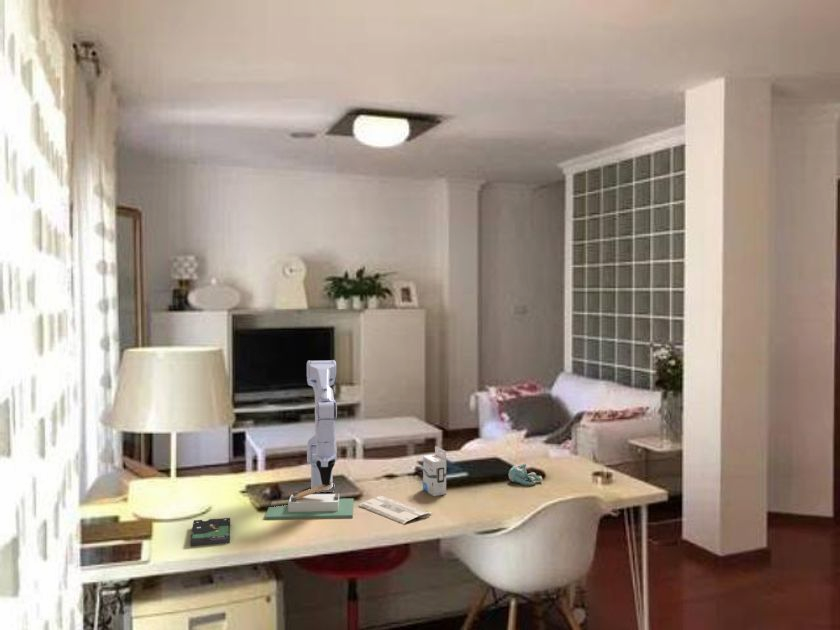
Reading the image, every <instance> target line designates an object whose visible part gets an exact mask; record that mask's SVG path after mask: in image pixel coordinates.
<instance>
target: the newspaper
mask: <svg viewBox="0 0 840 630" xmlns="http://www.w3.org/2000/svg"><path fill="white" fill-rule="evenodd" d="M358 507H359V508H362V509H364V510H367V511H369V512H371V513H374V514H377V515H379V516H381V517H384V518H387V519H389V520H391V521H394V522H397V523H398V524H401V525H405V524H406V523H407V522H409V521H411V520H413V519H415V518H420V519H426V518H429V517H430V515H431V514H432V512H430V511H427V510H424V509H422V508H418V507H415V506H411V505H409V504H406V503H404V502H401V501H397V500H395V499H392V498H388V497H386V496H383V495H378V496H376V497H373V498H370V499H368V500H366V501H363V502H360V503H359V504H358Z"/></svg>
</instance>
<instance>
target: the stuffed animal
mask: <svg viewBox="0 0 840 630" xmlns="http://www.w3.org/2000/svg"><path fill="white" fill-rule="evenodd" d="M526 467H527V464H526V463H522V464H521V465H513V466H512V467H511V468H510V469H509V470H508V478H509V480H510V481H511V482H514V483H515V484H521V485H522V486H533V485H535V484H536V481H537V482H542V481H543V477H542V476H541V475H537V473H536V472H530V473H528V471H527V470H526Z"/></svg>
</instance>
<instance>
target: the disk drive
mask: <svg viewBox="0 0 840 630" xmlns="http://www.w3.org/2000/svg"><path fill="white" fill-rule="evenodd" d="M191 528H192V529H191V533H190V540H189V541H190V542H189V543H190V544H189V545H190V547H191V548H192V547H200V546H201V547H202V546H215V545H224V544H226V543H227V544H230V542H231V517H223V518H209V519H207V520H203V519H195V520H193V522H192V527H191Z"/></svg>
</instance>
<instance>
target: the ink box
mask: <svg viewBox="0 0 840 630" xmlns="http://www.w3.org/2000/svg"><path fill="white" fill-rule="evenodd" d="M434 450H435V452H434V454H430V455H423V456H422V457H423V458H422V459H423V461H422V463H423V467H422V468H423V470H422V474H423V475H422V478H423V479H422V490H423V491H425V492H427V493H428V494H429V495H430V496H432V497H438V496H444V495H447V450H444V449H443V448H440V447H439V446H436V445H435V446H434Z"/></svg>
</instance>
